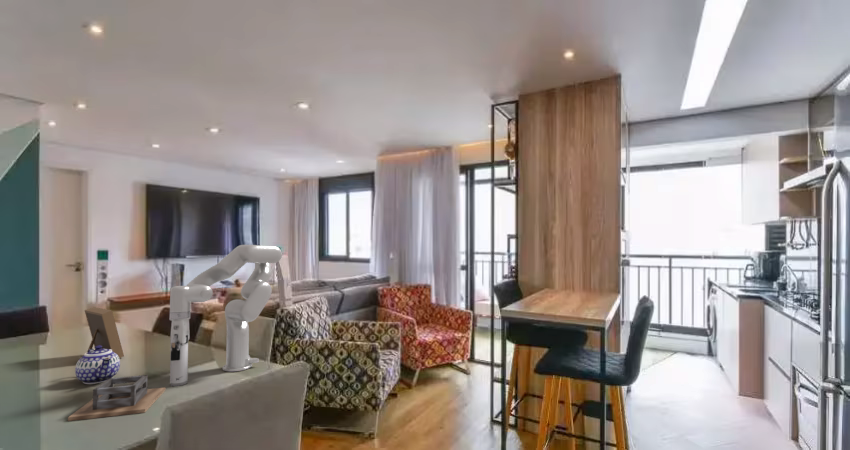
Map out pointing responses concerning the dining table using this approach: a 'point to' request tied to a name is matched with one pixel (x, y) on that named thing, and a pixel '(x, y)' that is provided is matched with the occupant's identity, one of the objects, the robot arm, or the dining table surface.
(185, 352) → the travel mug
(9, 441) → the dining table surface
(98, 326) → the photo frame
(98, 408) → the collar stand
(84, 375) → the teapot
